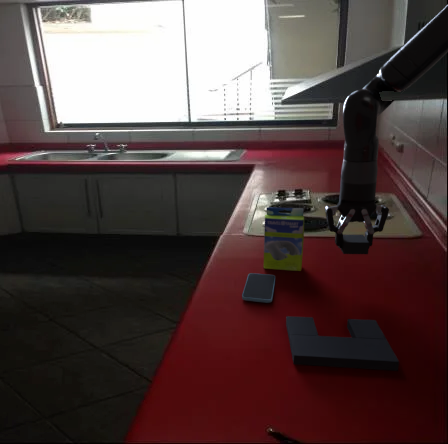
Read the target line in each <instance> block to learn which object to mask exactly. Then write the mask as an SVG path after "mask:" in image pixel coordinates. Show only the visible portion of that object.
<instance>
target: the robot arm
mask: <svg viewBox="0 0 448 444" xmlns="http://www.w3.org/2000/svg"><path fill="white" fill-rule="evenodd" d="M446 54H448V4H447V5H445V7H443V9H441V10H440V11H439V12H438V13H437V14H436V15H435V16H434V17H432V19H430V20H429V22H427V23H426V24H425V25H424V26H423V27H421V28H420V29H419V30H418V31H417V32H416V33H415V34H414V35H413V36H411V37H410V38H409V39H408V40H407V41H406V42H405V43H404V44H403V45H402V46H400V48H399V49H398V50H396V52H395V53H393V55H392V56H390V58H388V59H387V60H386V61H385V63H383V64H382V66H381V67H380V68H379V71H378V73H377V74H376V75H375V76H373V78H372V79H371V80H370V81H369V82H368V83H367V84H366V85H364V86H363V87H362V88H360V89H357V90H354V91H353V92H351V93H350V94H349V95H348V96H347V97H346V99H345V100H344V103H343V107H342V108H343V109H342V125H343V127H342V128H343V135H344V144H343V156H342V157H343V160H342V165H341V172H340V187H339V200H338V202H337V204H336V205H332V206H330V205H325V206H324V212H325V218H326V224H327V228H328V230H329V232H331V233H335V235H334V243H335V245H336V247H337V248H338V249H340V248H342V242H343V235H344V233H343V232H344V231H345V229H346V227H348V225H349V223H355V222H357V223H363V224H364V228H365V230H366V231H364V237H365V238H366V239H367V240H368V242H369V248H370V247H372V246H373V244H374V243H373V241H374V234H375V233H380V232H383V231H384V227H385V224H386V221H387V218H388V215H389V212H390V209H389V207H388V206H386V205H385V204H381V205H379V204H376V193H377V181H378V171H379V168H378V167H379V166H378V157H379V145H380V144H379V143H380V142H379V141H380V140H379V136H378V135H377V124H378V123H377V122H378V117H379V116H380V115H381V114H383V113H384V112H385V111H386V109H387V108H389V107H390V106H391V105H392V104H393V103H394V102H395V100H392V101H382V100H381V97H380V94H379V92H382V91H394V92H401V91H403V90H404V91H406V90H407V89H408V88H411V86H412V85H414V84H415V83H416V82H417V81H418V80H419V79H421V78H422V77H423V76H424V75H425V74H426V73H427V72H428V71H429V70H431V69H432V68H433V67H434V66H435V65H436V64H437V63H438V62H440V60H441V59H442V58H443V57H445V55H446ZM405 89H406V90H405ZM404 91H403V92H404ZM375 211H376V214H377V215H376V219H375V223H374V225H373V223H372V220H371V218H370V217H371V216H372V214H373V213H375ZM336 212H339V213H340V214H341V216H340V218H339V219H338V223H337V224H336V225H335V221H334V216H336Z"/></svg>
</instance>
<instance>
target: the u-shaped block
mask: <svg viewBox="0 0 448 444" xmlns="http://www.w3.org/2000/svg"><path fill="white" fill-rule="evenodd" d="M285 326H286V327H285V328H286V331H287V332H286V333H287V337H288V343H289V348H290V352H291V358H292V363H293V365H299V366H313V367H316V366H317V367H330V368H331V367H332V368H347V369H360V370H361V369H363V370H376V371H393V372H394V371H395V372H398V371H399V366H400V360H399V359H398V356H397V355H396V353H395V352H394V350H393V348H392V346H391V345H390V343H389V341H388V339H387V338H386V335H385V334H384V332H383V330H382V329H381V327H380V325H379V324H378V322H377V320H376V319H357V318H347V324H346V328H347V330H348V333H349V335H350V336H349V337H348V336H331V335H330V336H327V335H319V333H318V330H317V327H316V323H315V319H314V317H313V316H293V315H292V316H289V315H286V317H285Z"/></svg>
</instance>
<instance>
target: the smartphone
mask: <svg viewBox="0 0 448 444" xmlns="http://www.w3.org/2000/svg"><path fill="white" fill-rule="evenodd" d="M275 285H276V275H274V274H265V273H253V272H251V273H248V274H247V278H246V281H245V285H244V288H243V291H242V294H241V299H242V300H243V301H247V302H254V303H255V302H257V303H266V304H269V303H272V302H273V298H274V292H275Z"/></svg>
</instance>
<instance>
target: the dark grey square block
mask: <svg viewBox="0 0 448 444" xmlns="http://www.w3.org/2000/svg"><path fill="white" fill-rule="evenodd" d="M339 249H340V251H341V253H342V254H343V255H369V250H370V247H369V242H368V240H367V239H366V238H365V234H343V242H342V248H339Z"/></svg>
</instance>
